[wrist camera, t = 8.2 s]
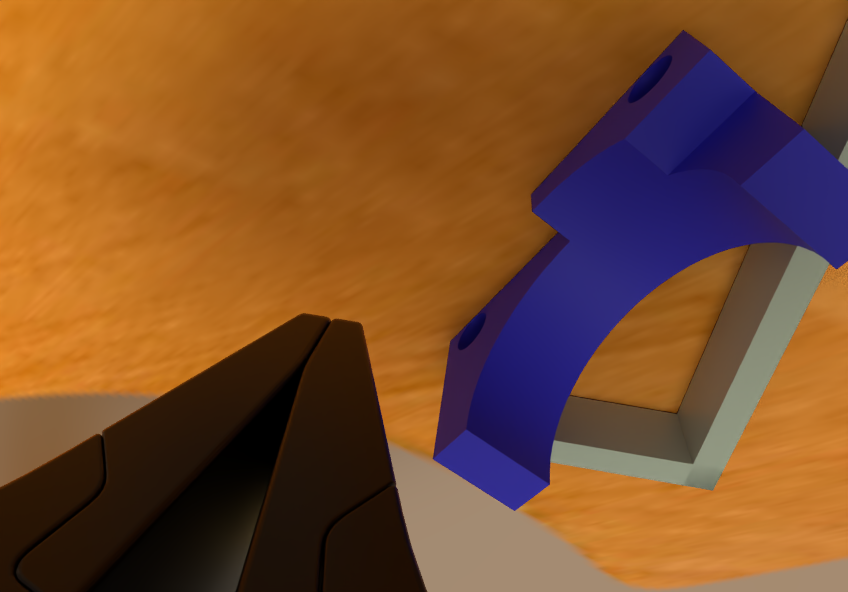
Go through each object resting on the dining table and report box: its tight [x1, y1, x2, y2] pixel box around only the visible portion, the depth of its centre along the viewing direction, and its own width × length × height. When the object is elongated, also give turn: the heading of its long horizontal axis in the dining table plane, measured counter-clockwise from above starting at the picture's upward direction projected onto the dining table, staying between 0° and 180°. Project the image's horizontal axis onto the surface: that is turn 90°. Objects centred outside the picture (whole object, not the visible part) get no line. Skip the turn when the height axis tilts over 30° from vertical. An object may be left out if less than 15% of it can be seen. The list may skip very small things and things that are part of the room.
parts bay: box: [550, 20, 848, 490], centre depth 18 cm, size 9×18×2 cm, turn 173°
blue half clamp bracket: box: [433, 30, 848, 511], centre depth 18 cm, size 12×4×6 cm, turn 144°
